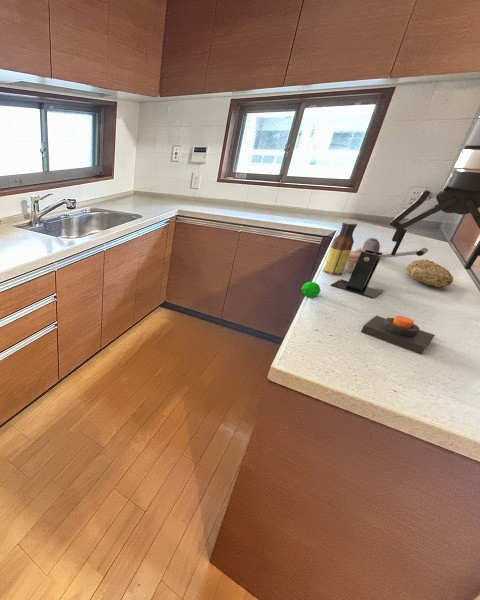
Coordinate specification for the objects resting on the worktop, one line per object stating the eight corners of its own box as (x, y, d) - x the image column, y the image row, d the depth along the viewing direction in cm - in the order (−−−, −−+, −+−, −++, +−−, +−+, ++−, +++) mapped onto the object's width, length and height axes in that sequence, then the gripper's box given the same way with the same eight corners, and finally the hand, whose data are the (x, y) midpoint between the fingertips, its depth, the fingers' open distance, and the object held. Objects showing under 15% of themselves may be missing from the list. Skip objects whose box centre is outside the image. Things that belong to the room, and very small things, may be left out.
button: (412, 326, 82) (415, 320, 82) (408, 330, 81) (412, 324, 80) (394, 320, 85) (397, 314, 84) (390, 324, 83) (393, 318, 82)
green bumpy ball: (319, 296, 106) (324, 283, 104) (315, 300, 103) (320, 287, 101) (301, 291, 109) (306, 278, 107) (297, 295, 106) (302, 282, 104)
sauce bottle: (341, 273, 125) (362, 222, 117) (341, 278, 121) (364, 225, 112) (321, 270, 129) (340, 220, 120) (321, 274, 124) (341, 223, 115)
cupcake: (358, 278, 122) (369, 253, 117) (330, 270, 128) (340, 246, 124) (367, 273, 126) (379, 249, 122) (340, 266, 133) (350, 242, 129)
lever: (428, 253, 96) (427, 246, 96) (424, 257, 94) (423, 248, 93) (367, 260, 108) (366, 253, 108) (361, 263, 105) (360, 256, 105)
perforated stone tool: (377, 261, 140) (384, 246, 137) (362, 259, 143) (368, 243, 140) (374, 253, 151) (380, 238, 148) (359, 250, 154) (366, 236, 151)
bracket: (380, 294, 109) (400, 255, 103) (371, 300, 104) (391, 260, 98) (339, 282, 118) (355, 245, 112) (329, 287, 113) (345, 249, 107)
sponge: (402, 272, 132) (397, 274, 118) (417, 255, 128) (414, 254, 115) (443, 289, 124) (443, 292, 110) (460, 271, 120) (462, 272, 107)
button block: (430, 342, 83) (438, 328, 81) (420, 354, 77) (429, 341, 76) (372, 322, 91) (379, 309, 90) (360, 332, 86) (366, 319, 84)
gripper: (562, 175, 67) (499, 270, 77) (403, 166, 83) (367, 246, 92) (573, 177, 63) (505, 278, 72) (402, 167, 78) (364, 251, 87)
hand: (427, 260), depth 82 cm, fingers open, 13 cm apart
